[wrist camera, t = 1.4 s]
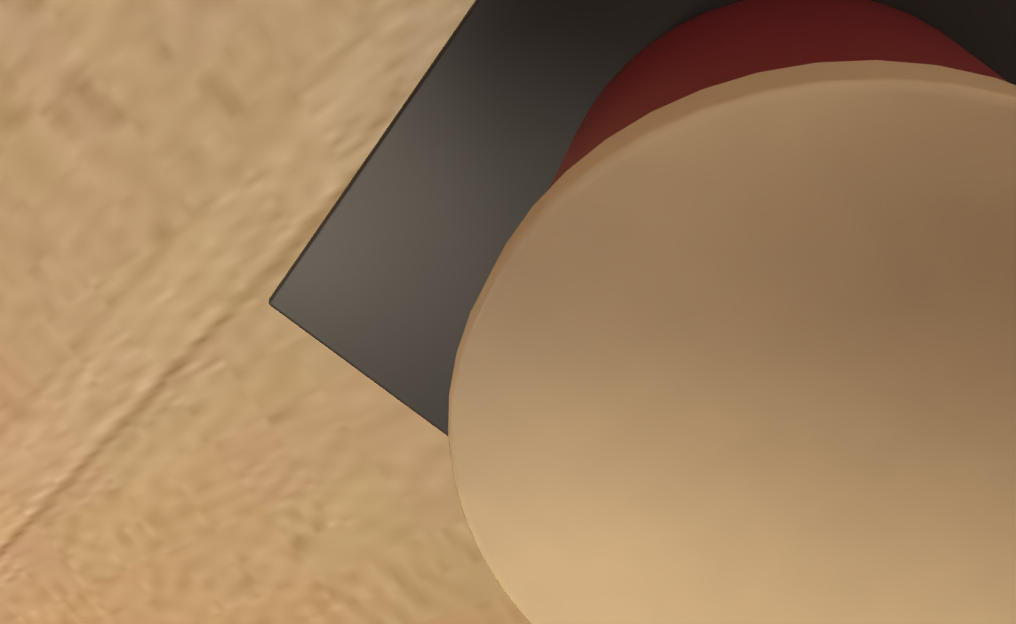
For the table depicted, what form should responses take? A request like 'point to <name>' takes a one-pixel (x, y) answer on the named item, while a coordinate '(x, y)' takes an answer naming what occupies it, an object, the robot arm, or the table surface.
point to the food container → (494, 173)
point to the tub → (758, 337)
